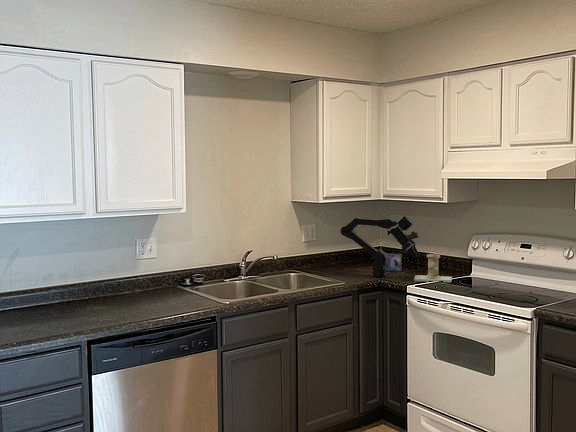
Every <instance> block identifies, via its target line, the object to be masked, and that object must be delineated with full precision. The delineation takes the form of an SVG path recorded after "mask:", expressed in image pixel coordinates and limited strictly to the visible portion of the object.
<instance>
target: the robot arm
mask: <svg viewBox="0 0 576 432" xmlns="http://www.w3.org/2000/svg"><path fill="white" fill-rule="evenodd" d="M358 225H360V226H371V227H373V226H374V227H379V228H382V229H385V230H387V231H386V232H387V236H390V235H392V237H393V238H395V240H396V242H397V243H398V244H399V245H400V246H401V251H402V252H404V253H405V254H408V255H409V256H412V257H414V258H415V259H418V258H419V257H421V254H420V253H419V251H418V249H417V248H416V242H415V240H414V239H417V238H419V233H418V232H417V231H416V232H415V231H411V232H410V234H406V233H405V232H403V231H408V229H410V228H411V227H412V226H413V225H414V223H413V221H412V220H411V219H409V217H407V216H406V215H404V216H403V217H402V218H401V219H400V220H399V221H395V220H394V219H393V218H390V217H389V218H388V217H386V218H380V219H379V218H376V219H375V218H362V217H355V218H354V219H352V220H351V221H350V222H349V223H348V224H347V225H344V226H342V227H341V228H340V233H341V234H340V235H342V236H344V237H345V238H348V239H350V240H352V241H353V242H355V243H356V244H357V245H358V246H360V247H361V248H362V249H363V250H365V251H366V252H367V253H369V255H370V256H372V258H373V259H374V261H373V262H372V263H371V265H372V276H371V277H372V278H384V277H385V276H386V271H385V268H384V263H385V262H386V261H387V260H388V256H387V254H386V253H387V252H385V251H384V250H383V249H382V248H379V249H378V248H375V247H374V246H372V244H370V243H369V242H368V241H366V240H365V239H364V238H362V236H360V235H359V234H358V233H357V231H356V230H355V228H356V227H358Z"/></svg>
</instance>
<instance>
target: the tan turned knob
mask: <svg viewBox="0 0 576 432" xmlns="http://www.w3.org/2000/svg"><path fill="white" fill-rule="evenodd" d="M426 259H427V274H426V275H425V276H426V278H430V279H438V278H440V275H439V259H441V254H435V253H429V254H428V253H427V254H426Z"/></svg>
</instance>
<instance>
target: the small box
mask: <svg viewBox="0 0 576 432" xmlns="http://www.w3.org/2000/svg"><path fill="white" fill-rule="evenodd" d="M386 254H387V256H388V260H387V261H386V262H385V263H384V265H383V266H384V268H385V272H388V271H389V272H393V273H402V270H403V269H402V265H403V264H402V257H403V254H402V253H387V252H386ZM389 272H388V273H389Z"/></svg>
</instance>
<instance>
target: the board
mask: <svg viewBox="0 0 576 432" xmlns="http://www.w3.org/2000/svg"><path fill="white" fill-rule="evenodd" d="M439 276H440V275H439ZM452 278H453V276H446V275H445V276H444V275H441V276H440V278H438V279H430V278H426V275H421V274H420V275H419V274H417V275H415V276H414V281H415V282H429V281H443V282H442V283H451V282H452V280H453V279H452Z"/></svg>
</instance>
